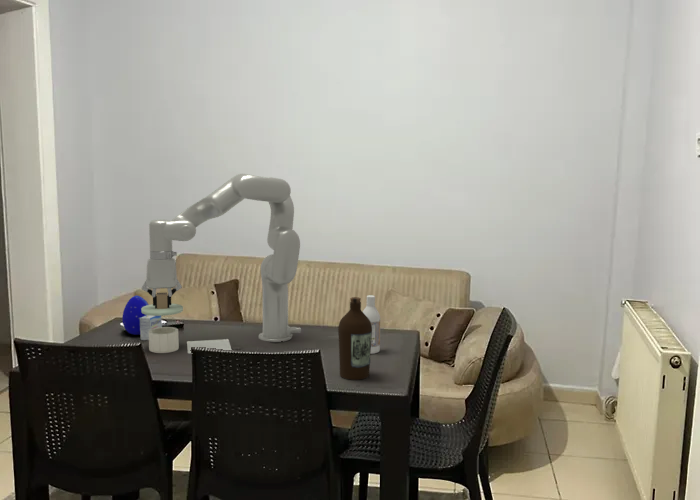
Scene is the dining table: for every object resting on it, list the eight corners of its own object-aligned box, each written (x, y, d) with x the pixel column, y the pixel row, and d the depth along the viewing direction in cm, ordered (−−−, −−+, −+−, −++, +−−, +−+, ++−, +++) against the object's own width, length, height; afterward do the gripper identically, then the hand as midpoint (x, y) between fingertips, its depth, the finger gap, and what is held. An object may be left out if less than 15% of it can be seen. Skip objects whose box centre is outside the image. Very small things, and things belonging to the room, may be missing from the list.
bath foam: (382, 353, 246) (383, 297, 243) (363, 354, 244) (364, 298, 241) (376, 347, 252) (377, 293, 249) (357, 349, 251) (358, 294, 248)
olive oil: (331, 372, 224) (332, 296, 221) (360, 368, 230) (361, 293, 226) (348, 382, 215) (349, 303, 211) (377, 377, 220) (378, 299, 217)
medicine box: (150, 341, 258) (150, 318, 256) (140, 340, 259) (139, 317, 258) (162, 335, 265) (161, 313, 264) (152, 334, 266) (151, 312, 265)
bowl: (178, 345, 253) (177, 326, 252) (178, 353, 243) (178, 333, 242) (149, 346, 250) (149, 327, 249) (149, 355, 241) (148, 335, 240)
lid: (182, 305, 253) (182, 289, 252) (183, 314, 240) (183, 297, 239) (142, 307, 250) (141, 290, 249) (140, 316, 236) (140, 298, 235)
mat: (228, 340, 260) (228, 339, 260) (231, 352, 245) (231, 350, 245) (186, 342, 256) (186, 341, 256) (188, 354, 242) (188, 353, 242)
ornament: (156, 331, 271) (155, 293, 269) (147, 338, 262) (146, 298, 259) (128, 330, 272) (127, 292, 269) (118, 337, 263) (117, 297, 260)
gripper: (185, 253, 248) (186, 304, 250) (136, 254, 243) (137, 306, 246) (186, 256, 240) (186, 309, 243) (135, 257, 236) (137, 310, 239)
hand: (162, 306), depth 244 cm, fingers closed on lid, 3 cm apart
